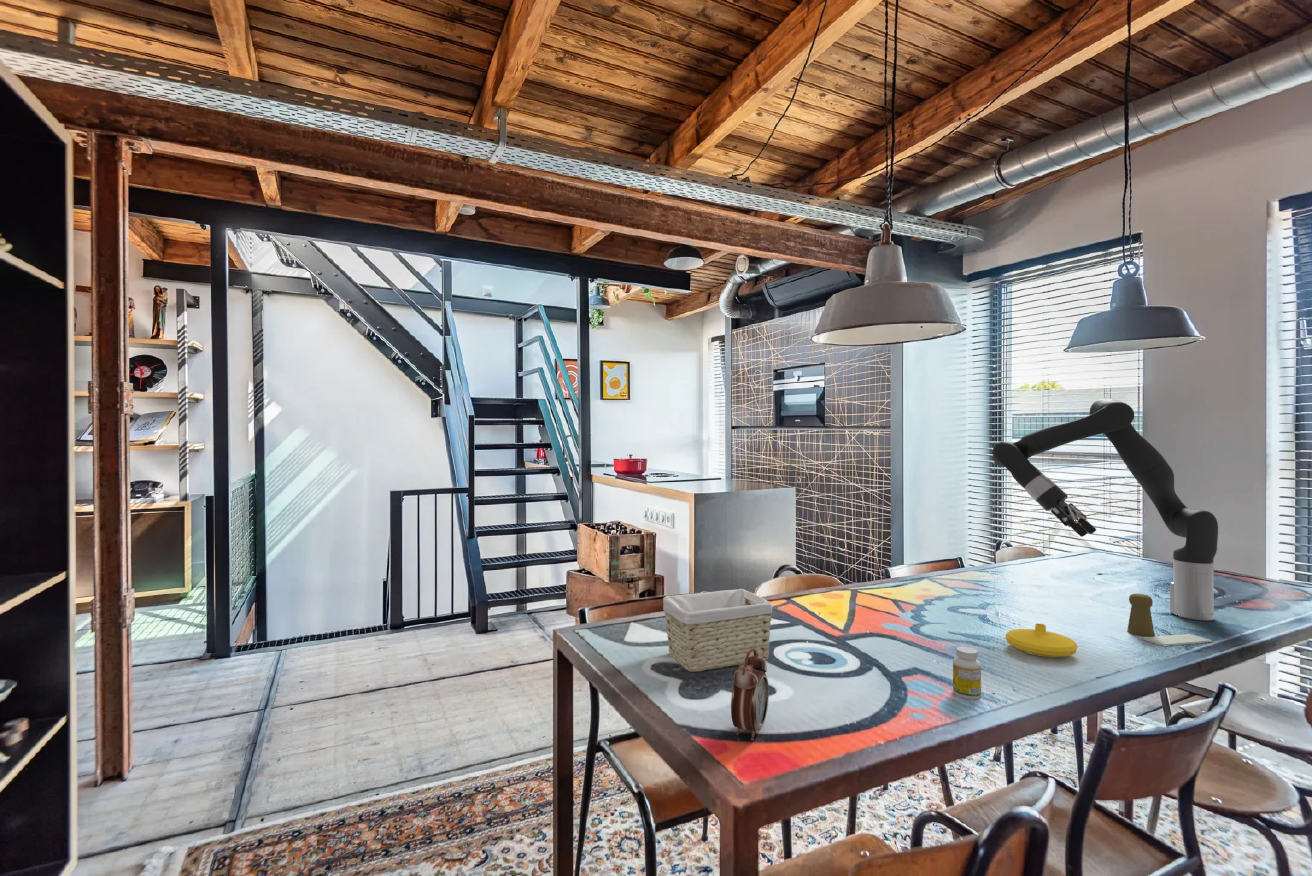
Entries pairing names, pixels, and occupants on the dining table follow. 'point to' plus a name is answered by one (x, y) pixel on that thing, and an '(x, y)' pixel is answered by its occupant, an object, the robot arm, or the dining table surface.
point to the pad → (1177, 639)
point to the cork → (1140, 616)
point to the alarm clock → (750, 694)
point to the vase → (1041, 642)
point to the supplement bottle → (967, 674)
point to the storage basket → (717, 628)
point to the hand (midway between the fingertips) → (1089, 533)
